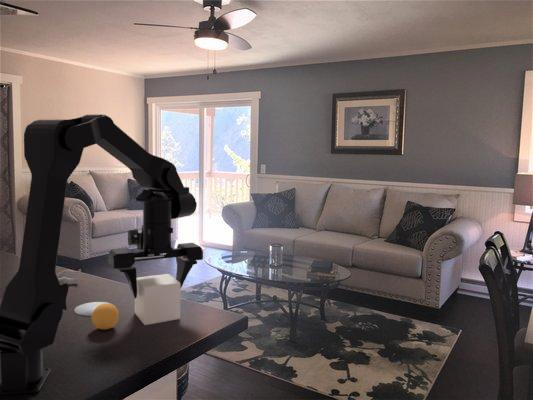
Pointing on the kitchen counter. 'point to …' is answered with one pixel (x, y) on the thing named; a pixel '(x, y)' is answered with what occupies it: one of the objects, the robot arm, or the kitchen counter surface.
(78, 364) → the kitchen counter surface
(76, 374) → the kitchen counter surface
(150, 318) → the cream cube
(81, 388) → the kitchen counter surface
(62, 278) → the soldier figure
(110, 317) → the ball
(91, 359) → the kitchen counter surface
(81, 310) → the white round disc
